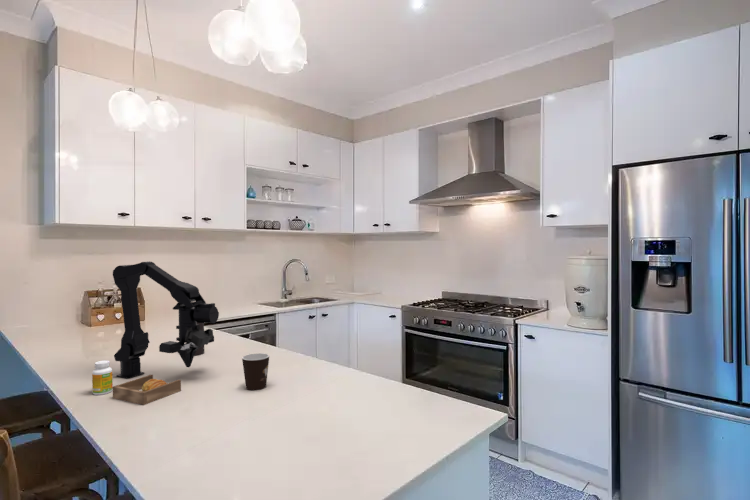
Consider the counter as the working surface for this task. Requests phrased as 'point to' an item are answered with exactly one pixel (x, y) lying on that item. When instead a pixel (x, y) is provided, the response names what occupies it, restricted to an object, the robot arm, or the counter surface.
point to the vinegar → (201, 349)
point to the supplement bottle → (102, 378)
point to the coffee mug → (255, 370)
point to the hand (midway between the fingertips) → (188, 367)
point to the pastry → (152, 384)
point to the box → (132, 393)
